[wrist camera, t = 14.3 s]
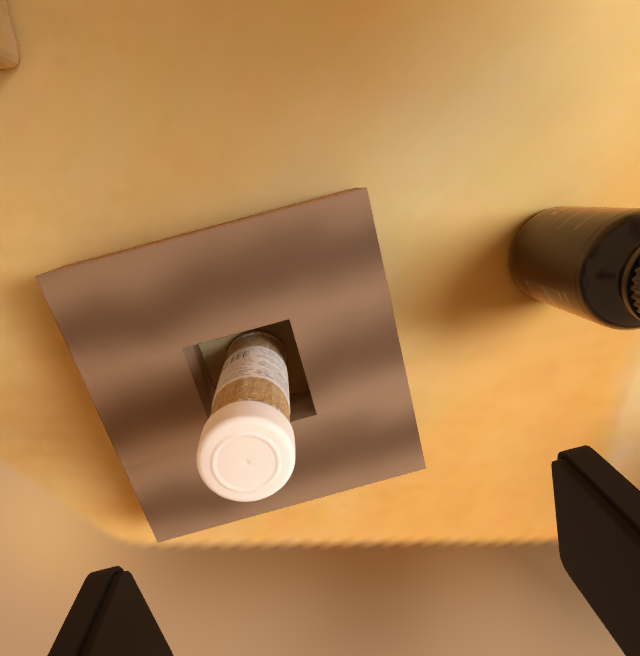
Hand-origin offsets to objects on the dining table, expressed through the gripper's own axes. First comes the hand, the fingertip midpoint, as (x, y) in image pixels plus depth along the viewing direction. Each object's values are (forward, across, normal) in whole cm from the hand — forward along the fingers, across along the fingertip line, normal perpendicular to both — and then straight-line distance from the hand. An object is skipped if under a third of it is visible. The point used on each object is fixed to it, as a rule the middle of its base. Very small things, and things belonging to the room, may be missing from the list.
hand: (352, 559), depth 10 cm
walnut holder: (+23, +5, +4) cm, 24 cm away
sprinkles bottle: (+24, +5, +4) cm, 24 cm away
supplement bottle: (+24, -18, +2) cm, 30 cm away
